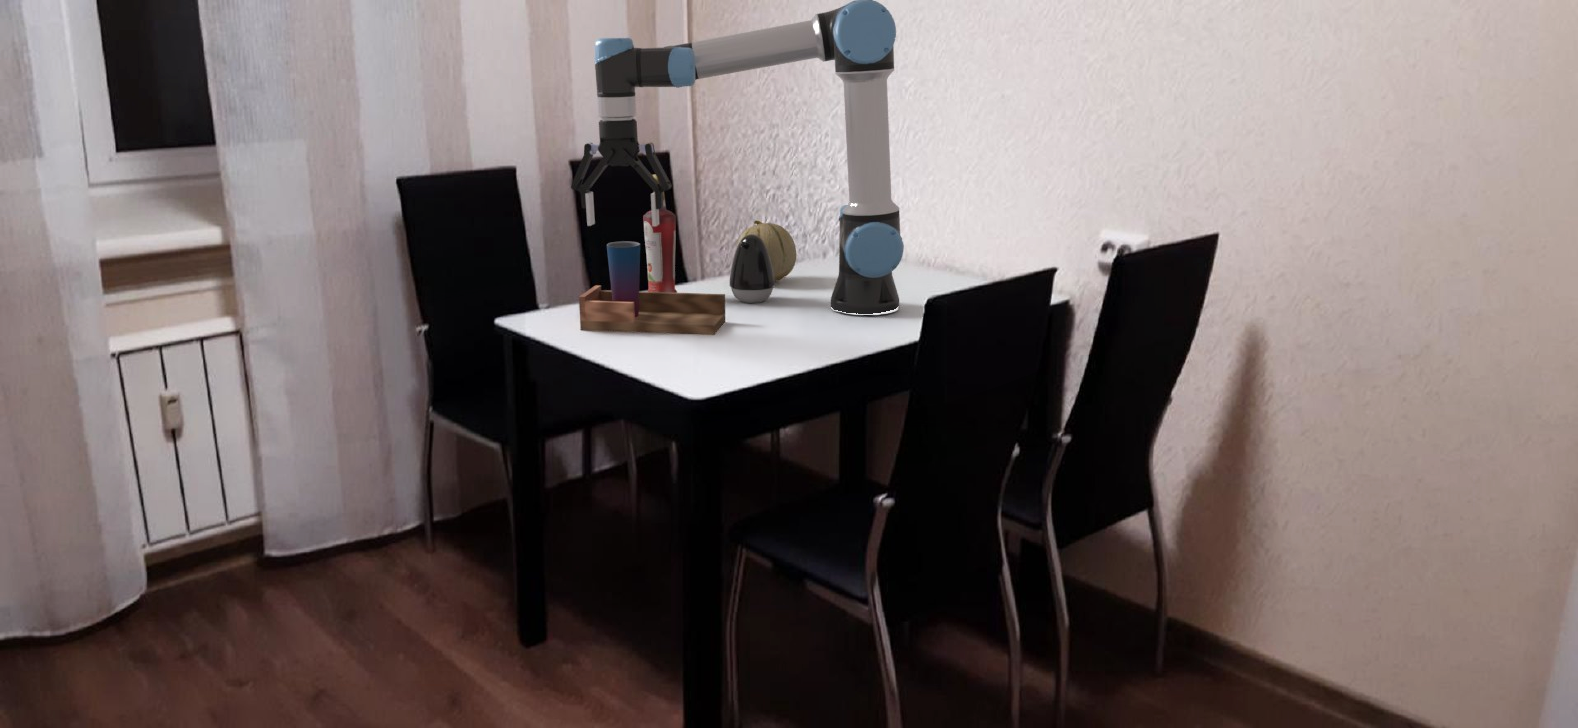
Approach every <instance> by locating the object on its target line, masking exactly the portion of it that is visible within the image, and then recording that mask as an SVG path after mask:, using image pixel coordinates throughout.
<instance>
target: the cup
mask: <svg viewBox="0 0 1578 728" xmlns="http://www.w3.org/2000/svg"><path fill="white" fill-rule="evenodd" d="M606 251H607V253H606V254H607V262H608V270H609V271H608V272H609V281H610V290H611V291H612V300H613V301H619V302H634V312H635V317H637V316H638V315H639V291H640V273H641V272H640V271H641V269H640V268H641V267H640V264H641V263H640V262H641V243H639V242H637V241H628V240H627V241H626V240H625V241H624V240H622V241H614V242H608V243H607V244H606Z"/></svg>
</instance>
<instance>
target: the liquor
mask: <svg viewBox="0 0 1578 728" xmlns="http://www.w3.org/2000/svg"><path fill="white" fill-rule="evenodd" d="M652 176H653V177H654V178H655V179H656V180H657V181H658V183H659V184H660V182H659V180H658V178H657V176H656V174H652ZM660 185H661V184H660ZM665 197H666V196H665V191H664V192H663V208H662V209H659V225H657V226H652V209H650V210H649V211H647V212H646V213H645V214H643V216H642V217H643V218H642V220H643V232H644V233H643V234H644V242H645V243H644V245H645V253H646V265H647V266H646V268H647V283H648V289H647V291H646V292H673V293H678V291H677V290H676V286H675V285H676V271H675V270H676V269H675V268H676V266H675V265H676V240H677V239H676V232H677V231H676V230H677V227H676V225H677V223H676V221H677V215H676V214H675V213H673V212H672V211H670V210H668V209H667V205H666V198H665Z"/></svg>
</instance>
